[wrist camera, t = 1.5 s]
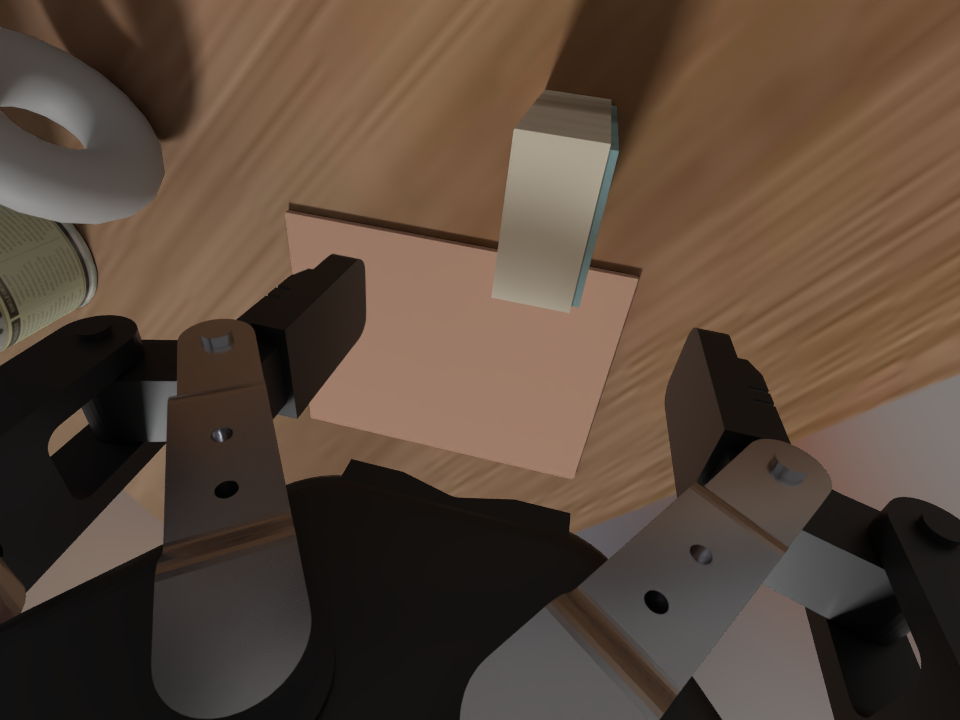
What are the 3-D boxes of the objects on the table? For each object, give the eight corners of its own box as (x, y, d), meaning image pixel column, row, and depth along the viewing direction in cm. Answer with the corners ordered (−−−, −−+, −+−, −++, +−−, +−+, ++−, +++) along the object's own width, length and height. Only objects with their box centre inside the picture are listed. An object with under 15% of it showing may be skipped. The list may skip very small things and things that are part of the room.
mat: (288, 209, 29) (284, 212, 29) (638, 275, 27) (638, 279, 26) (313, 414, 38) (311, 417, 38) (573, 475, 36) (573, 479, 36)
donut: (215, 163, 28) (59, 226, 20) (189, 201, 30) (36, 272, 22) (52, 0, 25) (-210, -2, 17) (33, 53, 27) (-212, 73, 19)
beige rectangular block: (544, 89, 23) (514, 128, 16) (618, 100, 22) (620, 145, 15) (524, 217, 26) (491, 297, 19) (587, 228, 26) (577, 314, 19)
